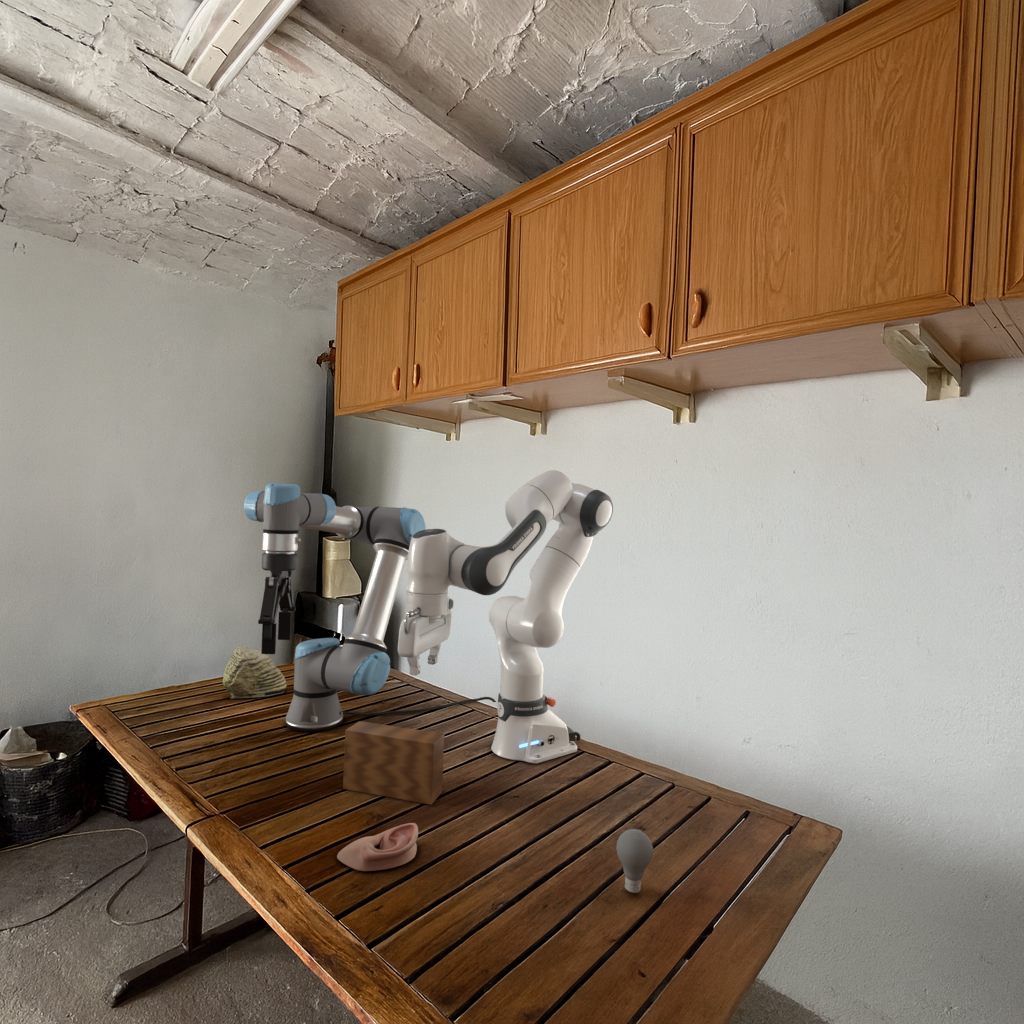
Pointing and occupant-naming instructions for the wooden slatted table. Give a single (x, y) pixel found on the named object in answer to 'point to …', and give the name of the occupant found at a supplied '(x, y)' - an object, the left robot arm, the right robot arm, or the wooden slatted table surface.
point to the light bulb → (634, 857)
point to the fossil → (252, 674)
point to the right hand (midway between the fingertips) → (423, 669)
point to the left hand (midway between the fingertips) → (276, 646)
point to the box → (394, 762)
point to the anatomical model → (382, 849)
